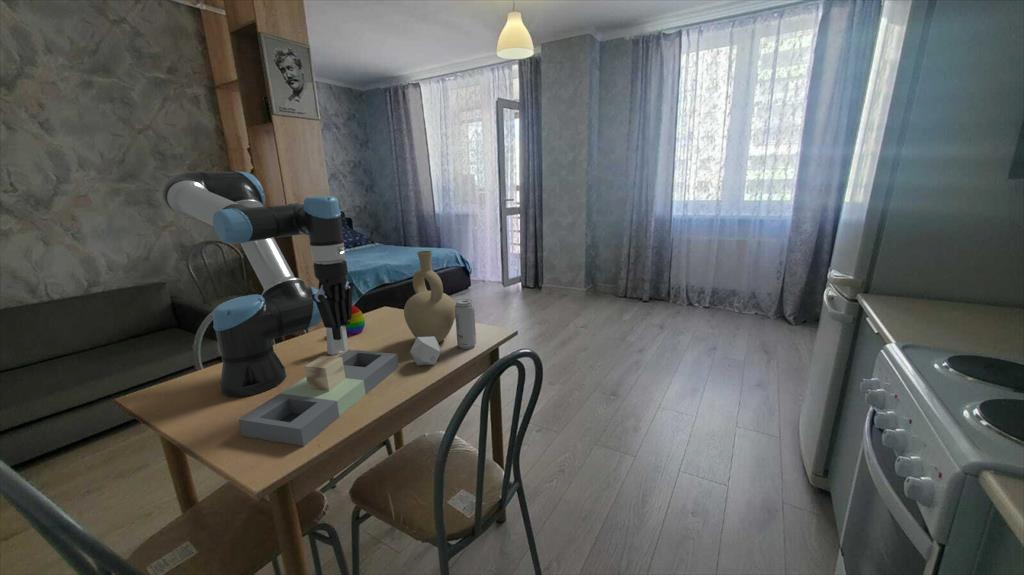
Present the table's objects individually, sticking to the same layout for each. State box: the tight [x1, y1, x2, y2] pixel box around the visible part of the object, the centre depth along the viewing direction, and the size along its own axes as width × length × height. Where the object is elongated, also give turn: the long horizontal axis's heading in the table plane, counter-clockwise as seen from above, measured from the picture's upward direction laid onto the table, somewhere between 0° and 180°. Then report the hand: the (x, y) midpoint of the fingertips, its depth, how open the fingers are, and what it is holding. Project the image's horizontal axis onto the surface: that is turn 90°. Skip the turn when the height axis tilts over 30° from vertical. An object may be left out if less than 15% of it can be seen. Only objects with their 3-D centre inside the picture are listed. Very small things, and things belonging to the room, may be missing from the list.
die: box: [409, 336, 442, 366], centre depth 118 cm, size 8×9×10 cm
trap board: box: [238, 349, 400, 447], centre depth 102 cm, size 16×37×4 cm, turn 165°
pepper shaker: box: [326, 328, 344, 356], centre depth 128 cm, size 5×5×11 cm
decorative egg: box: [346, 305, 366, 336], centre depth 145 cm, size 8×8×10 cm
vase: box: [403, 250, 456, 344], centre depth 132 cm, size 17×17×30 cm
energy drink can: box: [455, 298, 477, 350], centre depth 128 cm, size 6×6×15 cm
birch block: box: [304, 355, 346, 391], centre depth 99 cm, size 6×6×6 cm
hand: (342, 349), depth 106 cm, fingers closed
